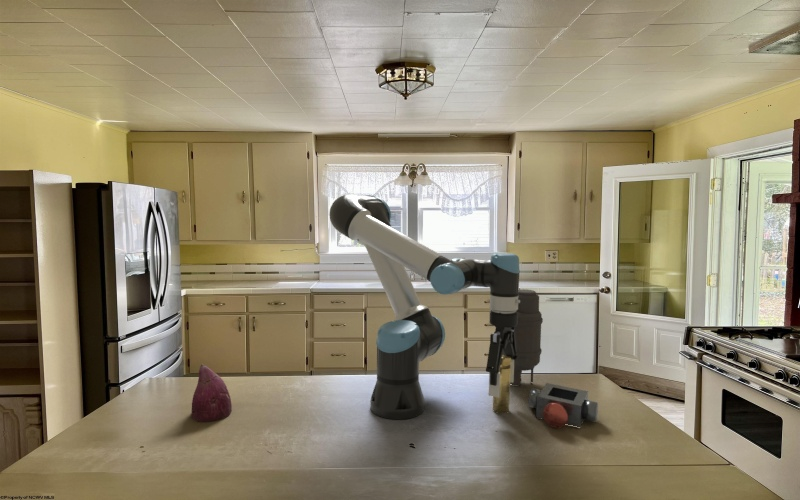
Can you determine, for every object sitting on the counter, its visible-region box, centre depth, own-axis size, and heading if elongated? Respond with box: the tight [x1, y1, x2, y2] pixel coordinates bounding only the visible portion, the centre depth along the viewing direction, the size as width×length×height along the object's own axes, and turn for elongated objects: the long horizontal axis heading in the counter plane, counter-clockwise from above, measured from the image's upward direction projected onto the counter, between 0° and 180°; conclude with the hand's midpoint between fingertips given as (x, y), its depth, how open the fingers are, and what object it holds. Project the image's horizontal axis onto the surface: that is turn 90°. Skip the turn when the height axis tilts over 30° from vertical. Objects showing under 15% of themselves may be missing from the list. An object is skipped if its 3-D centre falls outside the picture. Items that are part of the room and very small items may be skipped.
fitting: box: [492, 355, 511, 414], centre depth 122 cm, size 5×5×15 cm
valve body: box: [527, 382, 599, 429], centre depth 118 cm, size 17×15×6 cm
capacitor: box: [503, 289, 544, 386], centre depth 142 cm, size 14×14×30 cm
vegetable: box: [190, 363, 233, 423], centre depth 118 cm, size 10×10×15 cm
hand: (501, 388), depth 122 cm, fingers open, 11 cm apart
